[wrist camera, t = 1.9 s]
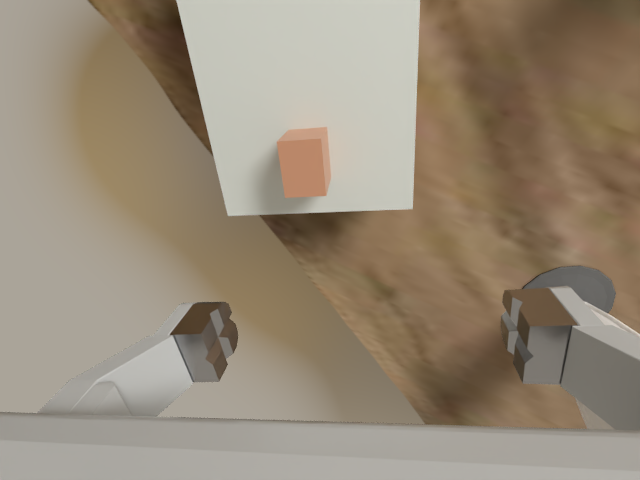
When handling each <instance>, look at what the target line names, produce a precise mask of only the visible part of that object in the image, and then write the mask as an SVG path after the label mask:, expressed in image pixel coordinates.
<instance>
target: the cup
mask: <svg viewBox="0 0 640 480" xmlns="http://www.w3.org/2000/svg"><path fill="white" fill-rule="evenodd" d="M558 286H568V287H570V288H572V289H573V290H574V292H575V293H576V294H577V295H578V296H579V297H580V298H581V299H582V300H583V302H584V303H585V304H586V305H587V306H588V307H589V308H590V309H591V310H592V311H593V313H594V314H595V315H596V316H597V317H598V318H599V319H600V320H601V321H602V323H603V324H604V325H613V326H615V327H617V328H619V329H622V330H624V331H626V332H628V333H631V334H633V335H635V336H637V337H639V338H640V334H639V333H637V332H636V331H634V330H633V329H631V328H629V327H628V326H626V325H625V324H623V323H622V322H620V321H619V320H617V319H616V318H614V317H613V316H611V315H609V314H608V313H609V311H610V310H611V309H612V306H613V302H614V299H615V295H616V293H615V290H614V287H613V284H612V281H611V280H610V279H609V278H608V277H606V276H605V275H604V274H603V273H601V272H600V271H599V270H595V269H591V268H587V267H583V266H572V267H559V268H556V269H554V270H551V271H548V272H546V273H543V274H540V275H539V276H537V277H536V278H535V279H533V280H532V281H531V282H529V283H528V284H527V285H526V286H524V288H523V289H534V288H546V287H558ZM575 399H576V398H575ZM576 402H577V404H578V407H579V409H580V412H581V415H582V417H583V419H584V422H585V424H586V426H587V428H588V429H605V430H615V429H614V428H612V427H611V426H610V425H609V424H607V423H606V422H605V421H604V420H602V419H601V418H600V417H599V416H597V415H596V414H595V413H594V412H592V411H591V410H590V409H589V408H587V407H586V406H585V405H584V404H582V403H581V402H580V401H579V400H577V399H576Z"/></svg>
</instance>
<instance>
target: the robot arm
mask: <svg viewBox="0 0 640 480" xmlns="http://www.w3.org/2000/svg"><path fill="white" fill-rule="evenodd" d="M502 303H503V305H504V307H505V309H506V312H505V313H504V314H503V315H502V316H501V332H502V338H503V341H504V344H505V346H506V349H507V351H509V352H510V353H512V354H513V355H514V360H513V364H514V366H515V368H516V370H517V372H518V374H519V376H520V379H521V381H522V383H526V384H558V385H561V387H562V388H563V389H565V390H566V391H567V392H569V393H570V394H571V395H572V396H574V397H575V398H576V399H577V400H579V401H580V402H581V403H582V404H584V405H585V406H586V407H587V408H589V409H590V410H591V411H592V412H594V413H595V414H596V415H597V416H599V417H600V418H601V419H602V420H604V421H605V422H606V423H607V424H609V425H610V426H611V427H612V428H614V429H615V430H605V429H570V428H530V427H494V426H462V425H429V424H397V423H395V424H394V423H362V422H361V423H360V422H327V421H290V420H287V421H286V420H255V419H253V420H252V419H218V418H185V417H156V416H157V415H159V414H160V413H161V412H162V411H163V410H164V409H165V408H167V407H168V406H169V405H170V404H171V403H172V402H173V401H174V400H175V399H177V398H178V397H179V396H180V395H181V394H182V393H183V392H184V391H186V390H187V389H188V388H189V387H190V386H191V385H192V384H193V382H218V381H220V379H221V377H222V375H223V373H224V371H225V369H226V367H227V365H228V364H227V361H226V358H228V357H229V356H231V355H232V354H233V353H234V351H235V349H236V346H237V341H238V332H237V328H236V324H235V323H234V322H233V321H232V320H230V319H229V317H230V315H231V313H232V312H231V309H230V307H229V304H228V303H226V302H198V303H195V302H194V303H182V304H179V306H178V307H177V308H176V309H175V310H174V311H173V313H172V314H171V315H170V316H169V317H168V319H167V320H166V321H165V322H164V323H163V324H162V326H161V327H160V328H159V329H158V330H157V331H156V333H155V334H154V335H153V336H147V337H146V338H144V339H142V340H140V341H139V342H137V343H135V344H134V345H132V346H130V347H128V348H126V349H124V350H123V351H121V352H119V353H117V354H115V355H114V356H112V357H110V358H108V359H107V360H105V361H103V362H101V363H99V364H98V365H96V366H94V367H92V368H91V369H89V370H87V371H85V372H84V373H82V374H80V375H78V376H76V377H75V378H73V379H71V380H70V381H68V382H67V383H66V384H65V385H64V386H63V387H62V388H61V389H60V390H59V391H58V392H57V393H56V394H55V395H54V396H53V397H52V399H50V400H49V401H48V402H47V403H46V405H44V407H42V408H41V409H40V411H38V413H13V412H0V480H640V338H639V337H637V336H635V335H633V334H631V333H628V332H626V331H624V330H622V329H619V328H617V327H615V326H613V325H604V324H603V323H602V321H601V320H600V319H599V318H598V317H597V316H596V315H595V314H594V313H593V311H592V310H591V309H590V308H589V307H588V306H587V305H586V304H585V303H584V302H583V300H582V299H581V298H580V297H579V296H578V295H577V294H576V293H575V292H574V290H573V289H572V288H570V287H568V286H558V287H546V288H534V289H516V290H505V291H504V294H503V301H502Z"/></svg>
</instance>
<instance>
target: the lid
mask: <svg viewBox="0 0 640 480" xmlns="http://www.w3.org/2000/svg"><path fill="white" fill-rule="evenodd" d="M176 1H177V5H178V9H179V13H180V18H181V22H182V26H183V30H184V34H185V39H186V43H187V47H188V51H189V55H190V60H191V64H192V68H193V72H194V76H195V81H196V85H197V89H198V93H199V97H200V101H201V106H202V110H203V114H204V118H205V122H206V127H207V131H208V135H209V139H210V143H211V148H212V152H213V156H214V160H215V164H216V169H217V173H218V177H219V181H220V185H221V189H222V194H223V198H224V202H225V206H226V210H227V214H228V216H240V215H242V216H243V215H269V214H295V213H321V212H347V211H373V210H398V209H413V184H414V155H415V127H416V98H417V70H418V41H419V13H420V0H176Z"/></svg>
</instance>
